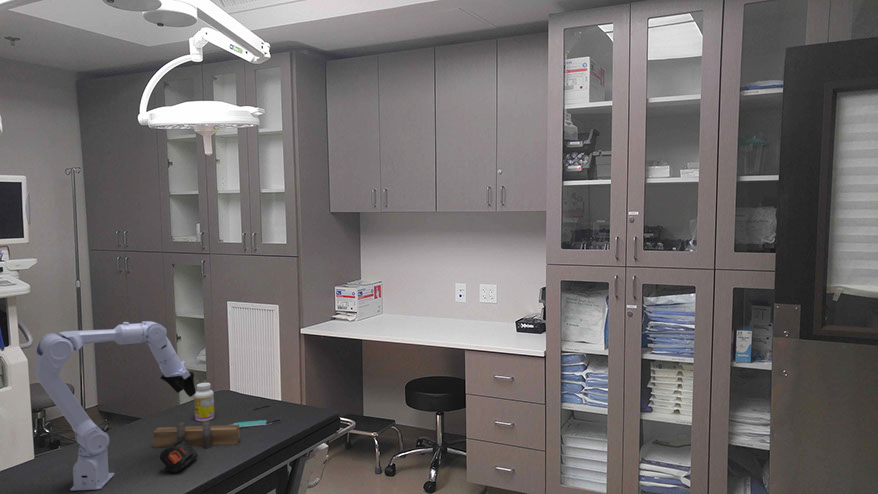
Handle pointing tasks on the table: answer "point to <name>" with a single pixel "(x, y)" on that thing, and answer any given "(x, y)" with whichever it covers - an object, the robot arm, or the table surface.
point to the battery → (178, 455)
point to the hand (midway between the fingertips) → (186, 392)
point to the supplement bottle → (204, 402)
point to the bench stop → (197, 435)
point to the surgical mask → (253, 422)
